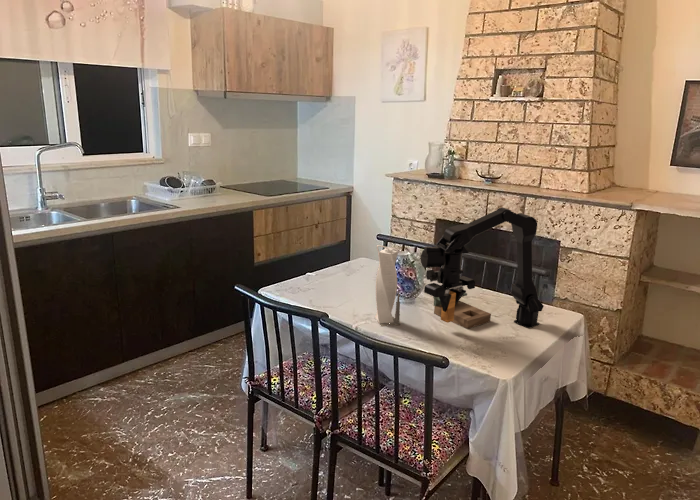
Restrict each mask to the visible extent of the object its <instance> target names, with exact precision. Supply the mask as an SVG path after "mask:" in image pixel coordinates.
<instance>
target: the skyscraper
mask: <svg viewBox="0 0 700 500" xmlns="http://www.w3.org/2000/svg"><path fill="white" fill-rule="evenodd" d="M379 247H381V248H384V249H382V250H379ZM376 249H377V254H378V263H379V264H378V268H377V272H376V277H375V303H376V314H375V317H374V319H375V318H376V319H377V321H376V322H377V323H378V324H379V326H380V325H381V326H380V327H388V326H387V325H392V326H400V325H401V324H400V316H401V314H400V309H401V302H400V297H401V295H400V289H398V275H397V273H398V272H397V268H396V262H397V258H398V254H399V250H398V249H397V248H395V247H392V246H385V245H381V244H377V245H376ZM397 290H398V292H397ZM396 297H397V298H396ZM394 305H395V313H394V316H393V314H392V311H393V308H394ZM376 319H375V320H376ZM389 323H390V324H389Z"/></svg>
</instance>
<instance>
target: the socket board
mask: <svg viewBox="0 0 700 500" xmlns="http://www.w3.org/2000/svg"><path fill="white" fill-rule="evenodd" d="M467 296H468V293H467V292H466V293H464V294H463V296H462V297H461V298H463V297H467ZM432 297H433V306H434V309H433V310H434V311H433V314H434V315H436V316H438V317H440V318H441V310H442V305H441V302H440V299H439V297H434V296H432ZM491 315H492V314H491V313H490V312H487V311H485V310H482V309H481V308H479V307H476V306H473V305H471V304H469V303H466V302H463V301H462V300H459V301H458V303H457V304H456V306H455V310H454V320H453V321H451V322H450V323H454V324H455V325H457V326H460V327H462V328H464V329H467V330H469V329H471V328H474V327H478V326H481V325H484V324H487V323H488V324H489V323H491V319H492V318H491V317H492V316H491Z"/></svg>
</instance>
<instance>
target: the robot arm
mask: <svg viewBox="0 0 700 500" xmlns="http://www.w3.org/2000/svg"><path fill="white" fill-rule="evenodd" d="M506 222H507V223H509V224H511V229H512V233H513V235H514V237H515V239H516V255H517V257H516V259H517V264H516V265H517V280H516V281H515V283H511V285H510V286H511V293H510V294H511V295H512V296H513V299H514V300H515V303H516V304H517V305H518V307H517V308H516V316H515V320H514V321H513V323H514V324H517V325H519V326H522V327H523V328H527V329H531V328H533V327H537V326H539V325H540V322H538V318H539V313H540V312H542V311H543V308H544V307H545V306H544V304H543V303H542V302H541V301H540V300H539V294H538V290H537V287H536V285H535V283H534V281H533V240H534V238H535V237H536V234H537V230H538V221H537V219H536V218H535V217H533V216H530V215H528V214H525V213H521V212H519V213H516V212H514V211H512V210H510V209H508V208H506V207H498V208H497V209H496V210H494V211H492V212H489V213H487V214H485V215H484V216H481V217H480V218H477V219H475V220H472V221H470V222H469V223H464V224H457V225H456V224H455V225H451V226H450V227H447V228H446V229H445V230H444V232H443V234H442V236H441V238H440V239H439V240H438V241H437V243H436V244H435V246H429V245H427V246H424V249H423V250H422V252H421V254H420V265H421V267H422V268H424V269H425V268H439V270H434V269H428V270H426V273H425V276H426V277H425V278H426V280H428V281H430V283H427V284H426V285H424V288H423V289H424V290H423V292H424V293H425V294H427V295H429V296H432V297H433V296H434V297H439V299H440V302H441V305H442V309H443V311H444V312H446V310H447V308H448V305H449V302H450V299H451V296H452V295H451V294H449V290H450V291H453V292H455V293H456V299H455V306H456V304H457V303H458V301H461V300H460V299H461V298H463V297H464V296H463V294H464V293H467V290H465V289H464V287H465V286H466V287H467V289H469V290H472V289H475V288H476V281H475V279H474V278H470V277H468V276H464V275H462V276H461V274H464V270H463V269H462V262H463V261H462V260H463V259H462V258H463V254H464V255H465V254H469V250H467V248H466V245H468V244H469V243H470V242H471V241H472V240H473V238H474V237H476V236H478V235H480V234H482V233H485V232H487V231H489V230H490V229H491V230H492V229H493V228H495V227H498V226H500V225H501V224H505V223H506ZM447 244H448V245H447ZM436 281H437V283H435V282H436ZM462 296H463V297H462Z"/></svg>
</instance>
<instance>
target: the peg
mask: <svg viewBox="0 0 700 500" xmlns="http://www.w3.org/2000/svg"><path fill="white" fill-rule="evenodd" d="M449 294H451V295H452V296H451V299H450V302H449V305H448V308H447V310H446V312H444V311H443V309H442V310H441V317H440V320H441V321H442V322H444V323H446V324H448V323H452V322H451V321H453V320H454V310H455V299H456V293H455V292H453V291H450V290H449Z"/></svg>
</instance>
